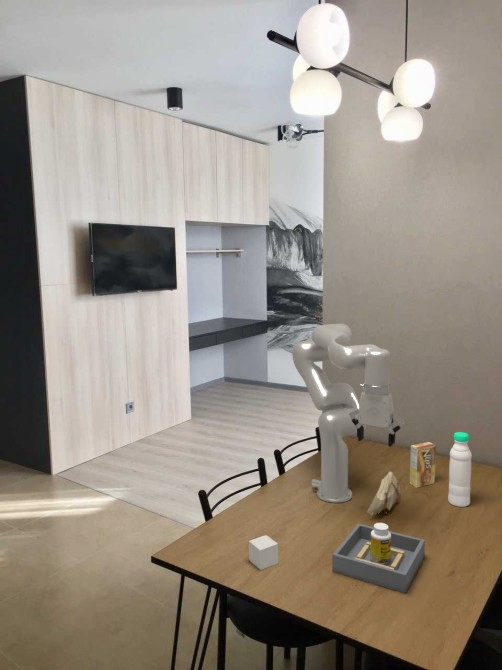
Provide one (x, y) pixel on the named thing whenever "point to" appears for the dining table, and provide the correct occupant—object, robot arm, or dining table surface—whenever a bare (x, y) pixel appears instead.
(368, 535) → the walled box
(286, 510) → the dining table surface
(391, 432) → the robot arm
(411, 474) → the candy box
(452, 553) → the dining table surface
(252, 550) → the white cube
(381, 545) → the supplement bottle
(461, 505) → the water bottle
